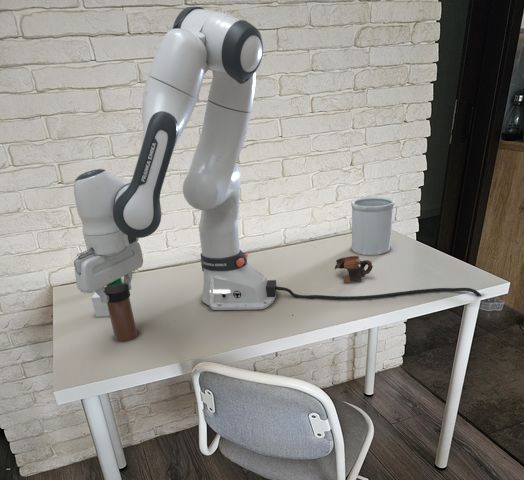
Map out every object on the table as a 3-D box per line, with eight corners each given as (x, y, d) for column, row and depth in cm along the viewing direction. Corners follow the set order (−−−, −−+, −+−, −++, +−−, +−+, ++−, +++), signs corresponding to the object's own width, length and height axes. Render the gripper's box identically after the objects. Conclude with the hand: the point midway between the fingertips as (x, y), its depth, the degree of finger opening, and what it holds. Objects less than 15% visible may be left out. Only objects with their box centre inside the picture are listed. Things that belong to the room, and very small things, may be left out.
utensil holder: (367, 258, 167) (370, 208, 159) (341, 248, 179) (343, 200, 170) (399, 250, 173) (404, 201, 164) (372, 240, 185) (375, 194, 176)
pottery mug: (334, 285, 150) (330, 259, 150) (340, 287, 158) (337, 263, 158) (373, 277, 145) (368, 250, 145) (377, 280, 154) (373, 255, 154)
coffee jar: (141, 331, 128) (131, 286, 122) (130, 341, 123) (119, 295, 117) (122, 329, 130) (111, 285, 123) (110, 340, 125) (99, 294, 118)
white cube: (102, 308, 143) (98, 289, 140) (122, 307, 143) (118, 288, 140) (95, 316, 138) (91, 297, 135) (116, 316, 138) (111, 296, 135)
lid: (134, 291, 123) (132, 283, 122) (124, 302, 118) (122, 293, 116) (110, 291, 124) (108, 283, 123) (99, 302, 119) (97, 293, 117)
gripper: (82, 257, 105) (97, 314, 112) (142, 231, 120) (151, 283, 127) (62, 255, 107) (77, 310, 114) (123, 229, 123) (133, 280, 130)
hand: (117, 295), depth 121 cm, fingers closed on lid, 6 cm apart
